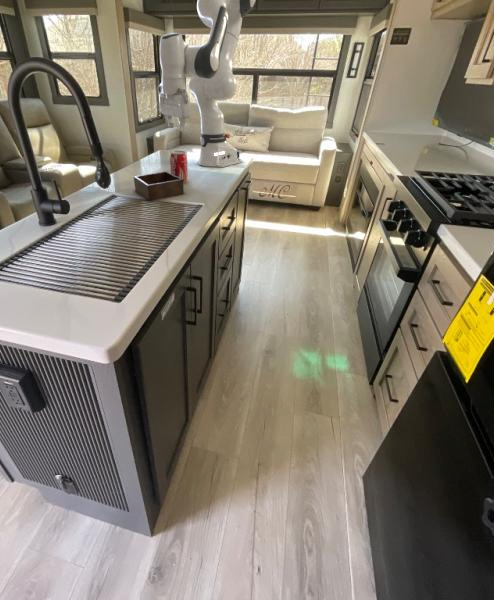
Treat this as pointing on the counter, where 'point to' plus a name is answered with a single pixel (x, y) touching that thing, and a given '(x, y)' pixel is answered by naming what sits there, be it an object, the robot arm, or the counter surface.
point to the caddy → (158, 185)
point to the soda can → (179, 164)
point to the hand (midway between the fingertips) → (176, 129)
